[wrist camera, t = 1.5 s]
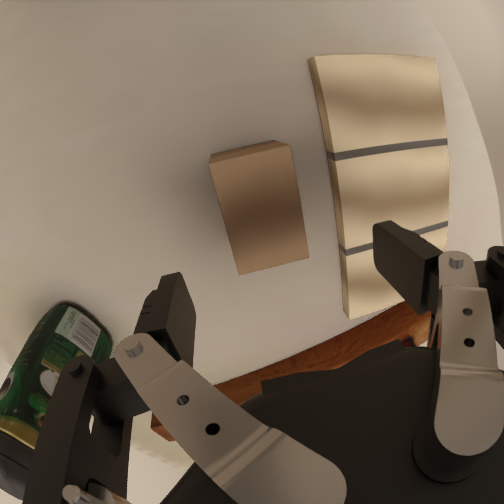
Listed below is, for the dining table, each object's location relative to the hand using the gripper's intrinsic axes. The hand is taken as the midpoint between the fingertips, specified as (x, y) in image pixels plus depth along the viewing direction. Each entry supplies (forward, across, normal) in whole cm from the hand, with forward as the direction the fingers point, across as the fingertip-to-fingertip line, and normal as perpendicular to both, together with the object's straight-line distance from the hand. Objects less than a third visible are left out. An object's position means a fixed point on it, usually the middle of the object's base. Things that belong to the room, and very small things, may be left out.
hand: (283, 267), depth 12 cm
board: (+11, -12, +1) cm, 16 cm away
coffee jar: (+11, +21, +9) cm, 25 cm away
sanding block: (+11, 0, 0) cm, 11 cm away
